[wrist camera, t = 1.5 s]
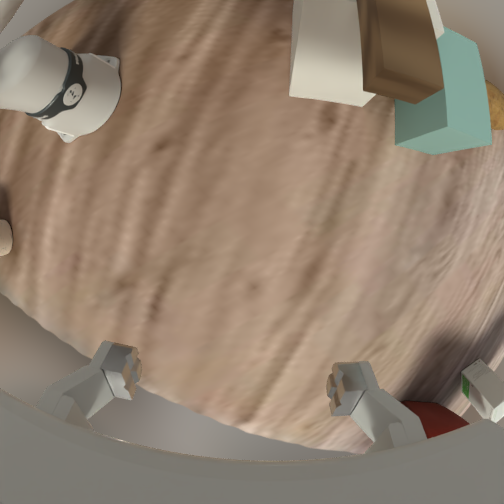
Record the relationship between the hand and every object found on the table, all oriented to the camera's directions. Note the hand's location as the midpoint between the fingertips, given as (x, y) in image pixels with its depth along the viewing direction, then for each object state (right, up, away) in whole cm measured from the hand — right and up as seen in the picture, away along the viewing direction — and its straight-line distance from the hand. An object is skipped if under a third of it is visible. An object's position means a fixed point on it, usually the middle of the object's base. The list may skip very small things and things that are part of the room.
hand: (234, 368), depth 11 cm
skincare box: (+54, -25, +36) cm, 69 cm away
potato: (+45, +33, +25) cm, 61 cm away
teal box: (+29, +30, +26) cm, 49 cm away
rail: (+11, +26, +2) cm, 28 cm away
